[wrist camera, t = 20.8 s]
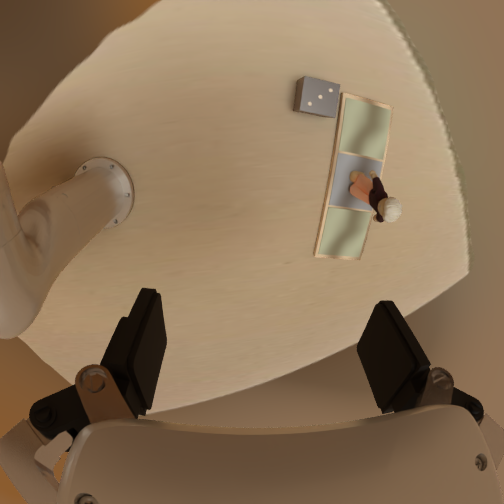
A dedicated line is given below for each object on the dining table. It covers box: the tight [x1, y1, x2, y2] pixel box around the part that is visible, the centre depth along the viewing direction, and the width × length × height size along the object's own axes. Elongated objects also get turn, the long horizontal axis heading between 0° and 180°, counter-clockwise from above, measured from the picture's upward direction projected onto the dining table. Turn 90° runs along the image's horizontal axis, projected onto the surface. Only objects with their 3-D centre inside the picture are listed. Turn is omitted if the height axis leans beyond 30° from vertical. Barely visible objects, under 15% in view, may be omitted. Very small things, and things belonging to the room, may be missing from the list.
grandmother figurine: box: [349, 170, 402, 223], centre depth 35 cm, size 8×4×13 cm, turn 26°
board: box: [314, 93, 393, 260], centre depth 41 cm, size 9×28×1 cm, turn 174°
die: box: [293, 76, 340, 118], centre depth 33 cm, size 5×5×5 cm
